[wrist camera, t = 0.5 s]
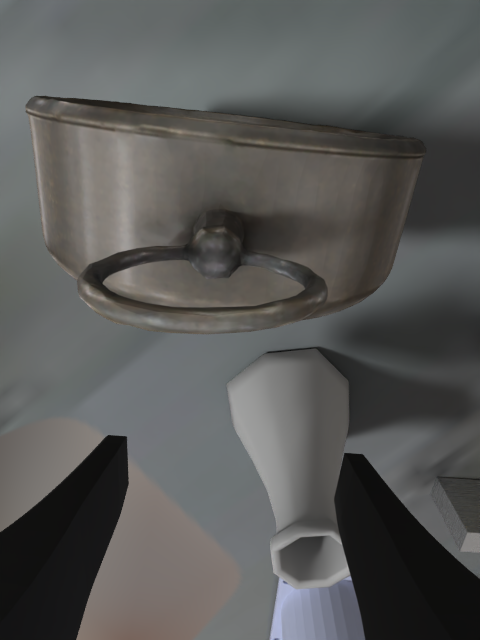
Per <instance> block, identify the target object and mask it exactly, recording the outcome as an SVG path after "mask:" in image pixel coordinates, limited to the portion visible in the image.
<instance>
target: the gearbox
mask: <svg viewBox="0 0 480 640" xmlns="http://www.w3.org/2000/svg"><path fill="white" fill-rule="evenodd" d="M431 496H432V498H433V500H434V502H435V504H436V506H437V508H438V510H439V512H440V514H441V515H442V517H443V519H444V521H445V523H446V525H447V527H448V529H449V531H450V533H451V535H452V537H453V539H454V541H455V543H456V545H457V547H458V549H459V550H460V551H463V552H480V480H473V479H457V478H441V477H437V478H436V481H435V484H434V487H433V490H432V493H431Z"/></svg>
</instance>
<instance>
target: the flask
mask: <svg viewBox="0 0 480 640" xmlns="http://www.w3.org/2000/svg"><path fill="white" fill-rule="evenodd" d="M226 385H227V392H228V398H229V404H230V410H231V416H232V423H233V426H234V428H235V430H236V432H237V434H238V436H239V438H240V439H241V441H242V443H243V445H244V446H245V448H246V450H247V452H248V453H249V455H250V457H251V459H252V461H253V463H254V465H255V467H256V469H257V471H258V473H259V475H260V477H261V479H262V481H263V483H264V485H265V487H266V489H267V491H268V494H269V497H270V501H271V505H272V508H273V512H274V515H275V519H276V526H277V531H276V535H274V536H273V537H272V538H271V541H270V549H271V557H272V564H273V571H274V574H276V575H277V576H278V577H280V578H281V579H283V580H284V581H285V582H287V583H288V584H289V585H291V586H292V587H293V588H295V589H309V588H325V587H331V586H333V585H334V584H336V583H338V582H340V581H341V580H343V579H345V578H347V577H349V576H350V572H349V568H348V564H347V561H346V557H345V553H344V550H343V546H342V542H341V538H340V534H339V530H338V524H337V518H336V511H335V504H334V496H335V492H336V488H337V483H338V479H339V473H340V467H341V461H342V455H343V451H344V447H345V442H346V438H347V434H348V428H349V423H350V421H349V381H348V380H347V379H346V378H345V377H344V376H343V375H342V374H341V373H340V372H339V371H338V370H337V369H336V368H335V367H334V366H333V365H332V364H331V363H330V362H329V361H328V360H327V359H326V358H325V357H324V356H323V355H322V354H321V353H320V352H319V351H318V350H317V349H316V348H315V349H306V350H296V351H286V352H276V353H266V354H263V355H261V356H260V357H259V358H258V359H257V360H255V361H254V362H253V363H252V364H250V365H249V366H248V367H247V368H246V369H244V370H243V371H242V372H241V373H239V374H238V375H237V376H236V377H235V378H233V379H232V380H231V381H230V382H229V383H227V384H226Z"/></svg>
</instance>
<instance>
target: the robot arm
mask: <svg viewBox="0 0 480 640" xmlns="http://www.w3.org/2000/svg"><path fill="white" fill-rule="evenodd" d="M128 484H129V482H128V456H127V437H126V436H113V435H108V436H107V437H105V438H104V439H103V440H102V442H101V443H100V444H99V445H98V446H97V447H96V448H95V449H94V450H93V451H92V452H91V453H90V455H88V456H87V457H86V458H85V460H84V461H83V462H82V463H81V464H80V465H79V466H78V467H77V468H76V469H75V470H74V471H73V472H72V473H71V474H70V475H69V476H68V477H66V478H65V479H64V480H63V481H62V482H61V483H60V484H59V485H58V486H57V487H56V488H55V489H53V490H52V492H50V493H49V494H48V495H47V496H46V497H45V498H43V499H42V500H41V501H40V502H39V503H38V504H36V505H35V506H34V507H33V508H32V509H30V510H29V511H28V512H27V513H25V514H24V515H23V516H22V517H20V518H19V519H18V520H16V521H15V522H14V523H13V524H11V525H10V526H9V527H7V528H6V529H4V530H3V531H1V532H0V640H76V638H77V635H78V631H79V628H80V625H81V621H82V618H83V614H84V611H85V607H86V604H87V601H88V598H89V595H90V592H91V589H92V586H93V583H94V581H95V578H96V576H97V573H98V571H99V568H100V566H101V563H102V560H103V558H104V555H105V553H106V550H107V547H108V545H109V543H110V540H111V538H112V535H113V532H114V530H115V527H116V525H117V522H118V519H119V517H120V514H121V510H122V507H123V503H124V499H125V495H126V491H127V488H128ZM334 504H335V511H336V518H337V524H338V530H339V534H340V538H341V542H342V546H343V550H344V553H345V557H346V561H347V564H348V568H349V572H350V576H349V577H347V578H345V579H343V580H341V581H340V582H338V583H336V584H334V585H333V586H331V587H325V588H309V589H295V588H293V587H292V586H291V585H289V584H288V583H287V582H285V581H284V580H283V579H281V578H280V577H279V583H278V589H277V595H276V602H275V608H274V614H273V621H272V627H271V633H270V640H480V579H479V578H478V577H477V576H475V575H474V574H473V573H472V572H471V571H469V570H468V569H467V568H466V567H465V566H464V565H463V564H461V563H460V562H459V561H458V560H457V559H456V558H455V557H454V556H453V555H452V554H450V553H449V552H448V551H447V550H446V549H445V548H444V547H443V546H442V545H441V544H440V543H439V542H438V541H437V540H436V539H435V538H434V537H433V536H432V535H431V534H430V533H429V532H428V531H427V530H426V529H425V528H424V527H423V526H422V525H421V524H420V523H419V522H418V521H417V519H416V518H415V517H414V516H413V515H412V514H411V513H410V512H409V511H408V509H407V508H406V507H405V506H404V505H403V504H402V502H401V501H400V500H399V499H398V498H397V496H396V495H395V494H394V493H393V492H392V490H391V489H390V488H389V487H388V485H387V484H386V483H385V482H384V480H383V479H382V478H381V477H380V475H379V474H378V473H377V472H376V470H375V469H374V468H373V466H372V465H371V464H370V463H369V461H368V460H367V459H366V458H365V456H364V455H363V454H351V453H344V458H343V462H342V466H341V470H340V475H339V479H338V483H337V488H336V492H335V496H334Z"/></svg>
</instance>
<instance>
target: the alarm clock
mask: <svg viewBox="0 0 480 640" xmlns="http://www.w3.org/2000/svg"><path fill="white" fill-rule="evenodd" d="M26 113H27V114H28V117H29V123H30V129H31V137H32V145H33V153H34V162H35V171H36V180H37V189H38V198H39V206H40V215H41V223H42V231H43V237H44V240H45V244H46V247H47V249H48V251H49V253H50V254H51V256H52V257H53V258H54V260H55V261H56V262H57V264H58V265H59V266H60V267H61V268H63V269H64V270H65V271H66V272H67V273H68V274H70V275H71V276H72V277H73V278H74V279H76V280H77V285H78V293H79V297H80V298H81V299H82V300H83V301H84V302H85V303H86V304H88V305H89V306H90V307H91V308H92V309H93V310H94V311H95V312H96V313H98V314H99V315H101V316H103V317H104V318H106V319H108V320H110V321H112V322H114V323H116V324H123V325H130V326H134V327H137V328H141V329H145V330H148V331H157V332H167V333H188V334H220V333H237V332H251V331H257V330H263V329H269V328H275V327H280V326H284V325H287V324H291V323H294V322H298V321H301V320H306V319H312V318H318V317H322V316H325V315H329V314H332V313H335V312H338V311H341V310H344V309H346V308H348V307H351V306H353V305H355V304H357V303H359V302H361V301H363V300H364V299H365V298H367V297H368V296H369V295H371V294H372V293H374V292H375V291H376V290H377V289H378V288H379V287H380V286H381V285H382V284H383V283H384V282H385V280H386V278H387V277H388V275H389V274H390V271H391V269H392V267H393V263H394V260H395V256H396V253H397V249H398V246H399V242H400V239H401V235H402V232H403V228H404V225H405V221H406V217H407V214H408V210H409V207H410V203H411V200H412V196H413V193H414V189H415V185H416V182H417V178H418V175H419V171H420V168H421V165H422V161H423V157H424V155H425V153H426V147H425V146H424V144H423V142H422V141H421V140H418V139H415V138H407V137H403V136H394V135H387V134H380V133H372V132H365V131H358V130H352V129H345V128H339V127H333V126H327V125H326V126H324V125H311V124H304V123H298V122H290V121H285V120H274V119H268V118H259V117H250V116H243V115H233V114H224V113H216V112H207V111H199V110H186V109H178V108H170V107H158V106H147V105H139V104H132V103H120V102H111V101H102V100H89V99H78V98H60V97H48V96H34V97H32V98H31V99H30V100H29V101H28V103H27V104H26Z"/></svg>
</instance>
